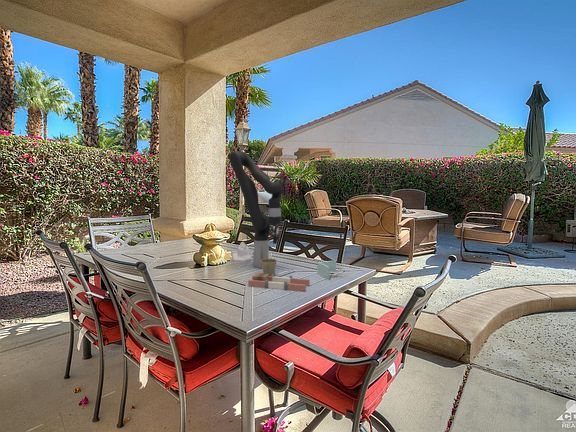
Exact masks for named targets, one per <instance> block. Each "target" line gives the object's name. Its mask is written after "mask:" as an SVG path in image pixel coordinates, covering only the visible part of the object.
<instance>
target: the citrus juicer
mask: <svg viewBox="0 0 576 432" xmlns="http://www.w3.org/2000/svg"><path fill="white" fill-rule="evenodd" d="M232 260H233V263H242V264H243V263H244V264H245V263H247V262H251V261H252V257H251V255H250V253H249V246H248V245H247V244H246V243H245V242H244V241H242V242H240V244H239V246H238V247H237V249H236V252H233V253H232Z"/></svg>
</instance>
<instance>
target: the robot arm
mask: <svg viewBox="0 0 576 432" xmlns="http://www.w3.org/2000/svg"><path fill="white" fill-rule="evenodd" d="M228 161H229V164H230V166H231V168H232V170H233V172H234V174H235V177H236V179H237V180H236V181H237V182H238V184H239V187H240V191H241V194H242V196H243V198H244V202H245V204H246V207H247V210H248V213H249V218H250V221H251V225H252V226H253V228H254V229H255V233H254V235H253V252H252V267H253V268H256V269H263V267H262V263H261V260H263V259H270V257H269V254H270V253H269V246H270V245H269V237H270V234H271V236H272V237H271V238H272V243H273V244H274V245H276V244H278V241H279V233H280V226H279V224H282V209H281V199H282V193H283V187H282V184H281V183H280V182H278V181H277V182H276V181H274V182H273V181H271V177H270V176H269V175H268V174H267V173H266V172H265V171H263V170H262V169H261V168H260V167H259V166H258V165H257V164H256V163H255V162H254V161H253V159H251V157H250V156H249V155H248V154H247V153H246V152H245V151H243V150H241V151H240V150H237V151H236V150H235V151H231V152H229V156H228ZM245 168H246V169H247V170H249V173H250V174H251V176H252V178H253V179H254V180H255V181H256V182H257V183H259V185H261V187H262V188H263V190H264V191H265V192H266V193H267V194H270V195H271V197H270V198H269V199H268V215H266V214H263V213H262V211H261V208H260V203H259V193H258V189H257V187H256V183H254V181H253V180H252V178H251V177H250V176H249V175H248V174H247V173H246V171H245ZM271 225H272V226H271ZM270 228H271V231H270ZM270 232H271V233H270Z"/></svg>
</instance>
